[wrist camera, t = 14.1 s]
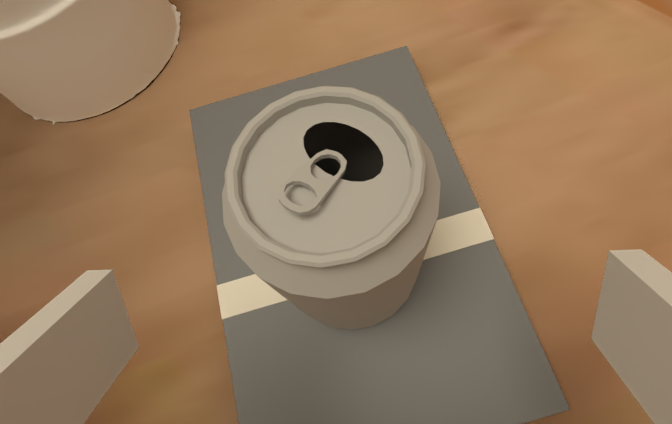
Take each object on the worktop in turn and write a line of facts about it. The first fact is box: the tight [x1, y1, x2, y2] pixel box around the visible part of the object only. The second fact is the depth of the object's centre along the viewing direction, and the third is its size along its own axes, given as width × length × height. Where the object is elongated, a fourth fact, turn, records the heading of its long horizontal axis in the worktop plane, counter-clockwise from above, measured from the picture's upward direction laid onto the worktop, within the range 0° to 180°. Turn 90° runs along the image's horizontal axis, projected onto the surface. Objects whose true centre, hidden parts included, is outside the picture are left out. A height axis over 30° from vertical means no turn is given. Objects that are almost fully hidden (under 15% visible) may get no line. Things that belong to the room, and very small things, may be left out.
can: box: [222, 86, 441, 330], centre depth 18 cm, size 8×8×12 cm
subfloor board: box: [190, 46, 570, 424], centre depth 25 cm, size 24×16×2 cm, turn 16°
